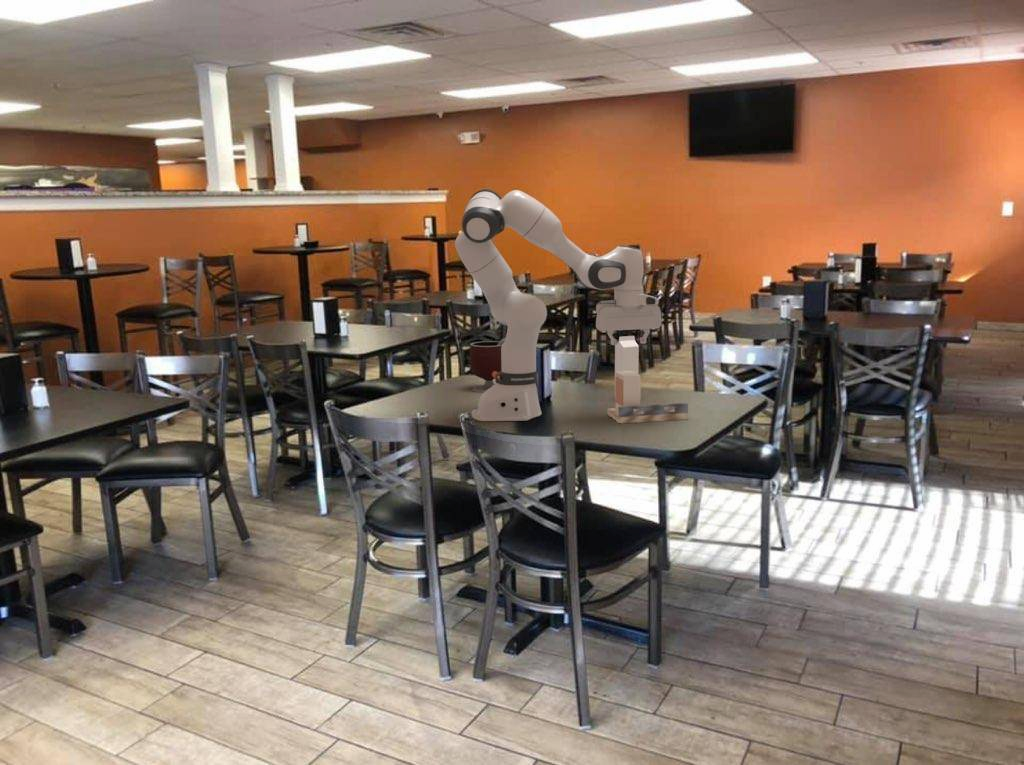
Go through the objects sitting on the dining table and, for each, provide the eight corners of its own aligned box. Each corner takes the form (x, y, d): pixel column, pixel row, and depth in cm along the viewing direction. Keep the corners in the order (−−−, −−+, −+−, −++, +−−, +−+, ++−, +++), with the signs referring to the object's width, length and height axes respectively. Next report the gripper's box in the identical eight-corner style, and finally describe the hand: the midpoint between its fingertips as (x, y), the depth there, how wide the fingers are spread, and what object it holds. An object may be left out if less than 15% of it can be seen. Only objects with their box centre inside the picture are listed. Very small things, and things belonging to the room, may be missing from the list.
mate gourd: (468, 393, 304) (467, 338, 300) (472, 386, 317) (470, 333, 313) (511, 393, 303) (510, 338, 299) (513, 385, 317) (512, 333, 313)
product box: (614, 408, 266) (614, 371, 264) (631, 407, 267) (632, 370, 265) (622, 414, 259) (623, 376, 256) (640, 413, 260) (640, 375, 257)
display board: (619, 423, 255) (619, 407, 254) (607, 414, 267) (607, 399, 266) (687, 419, 260) (688, 403, 259) (672, 410, 271) (673, 395, 270)
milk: (614, 399, 291) (614, 335, 286) (630, 397, 293) (630, 334, 289) (622, 402, 285) (623, 337, 281) (638, 400, 287) (639, 336, 283)
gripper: (598, 301, 251) (598, 347, 254) (663, 298, 255) (663, 343, 258) (592, 299, 257) (593, 344, 260) (656, 297, 261) (655, 341, 264)
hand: (628, 344), depth 259 cm, fingers open, 8 cm apart
